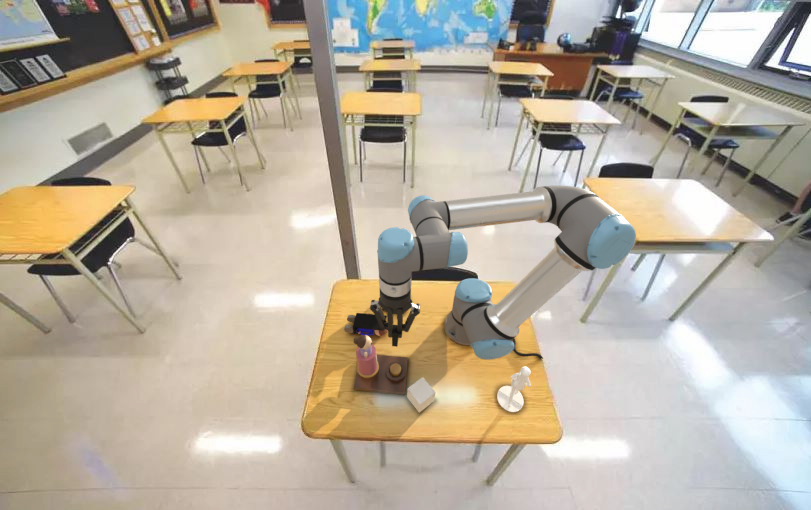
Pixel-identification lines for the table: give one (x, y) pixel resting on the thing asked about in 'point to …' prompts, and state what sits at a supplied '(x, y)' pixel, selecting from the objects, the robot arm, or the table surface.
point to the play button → (395, 369)
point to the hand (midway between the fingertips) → (395, 342)
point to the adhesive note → (421, 394)
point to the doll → (366, 357)
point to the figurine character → (364, 324)
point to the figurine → (514, 391)
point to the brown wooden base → (385, 377)
